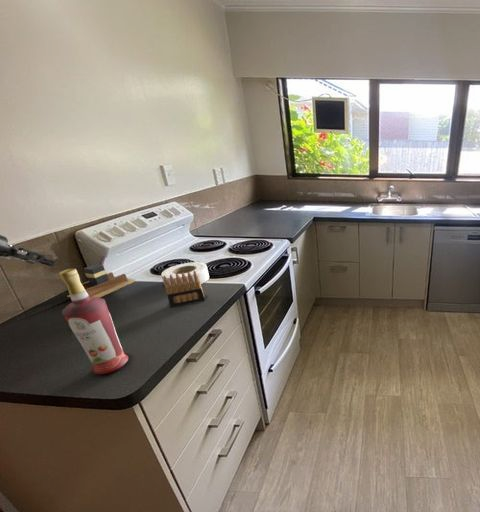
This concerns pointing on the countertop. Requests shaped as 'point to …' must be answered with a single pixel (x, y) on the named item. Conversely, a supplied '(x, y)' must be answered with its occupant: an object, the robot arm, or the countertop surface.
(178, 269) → the tape roll
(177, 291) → the ammunition clip
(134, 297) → the countertop surface
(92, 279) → the dark box with band
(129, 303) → the countertop surface
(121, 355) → the liquor
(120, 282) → the rack
